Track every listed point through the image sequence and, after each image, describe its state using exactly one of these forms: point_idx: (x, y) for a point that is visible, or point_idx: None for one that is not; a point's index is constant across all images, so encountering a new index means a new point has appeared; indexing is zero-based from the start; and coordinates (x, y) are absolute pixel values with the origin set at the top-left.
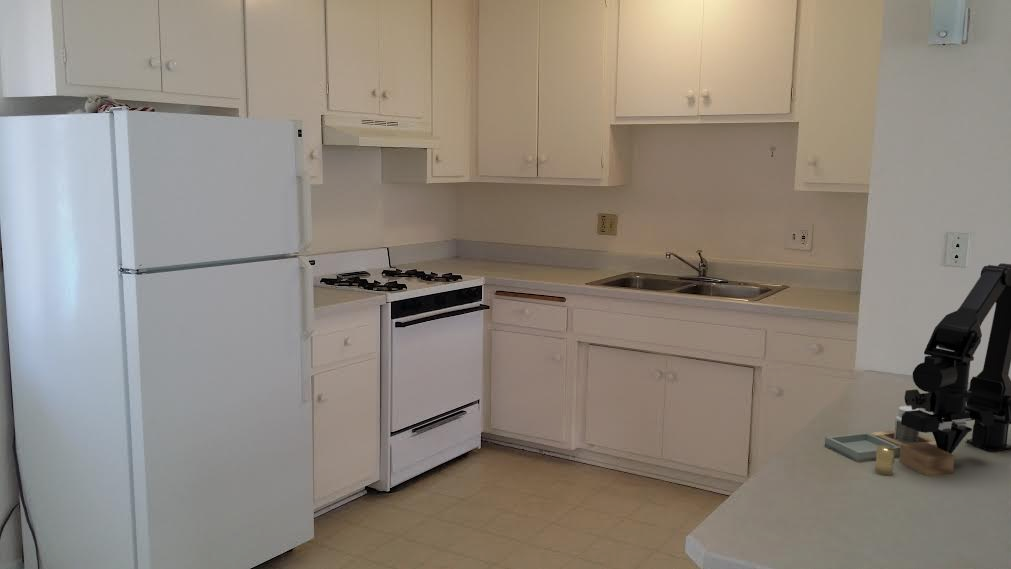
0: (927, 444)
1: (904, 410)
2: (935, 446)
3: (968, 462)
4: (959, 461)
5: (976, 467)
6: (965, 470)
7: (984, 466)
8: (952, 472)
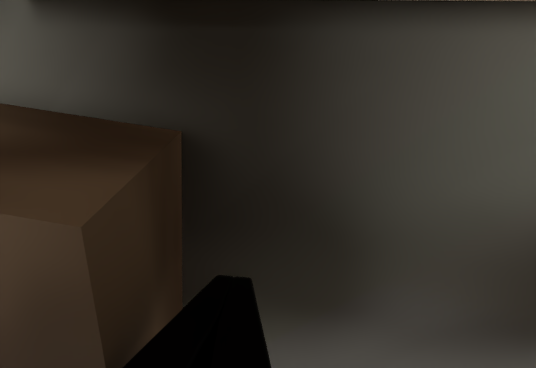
0: (42, 292)
1: None
2: (100, 362)
3: (483, 289)
4: (438, 255)
5: (427, 353)
6: (304, 354)
7: (501, 362)
8: None
